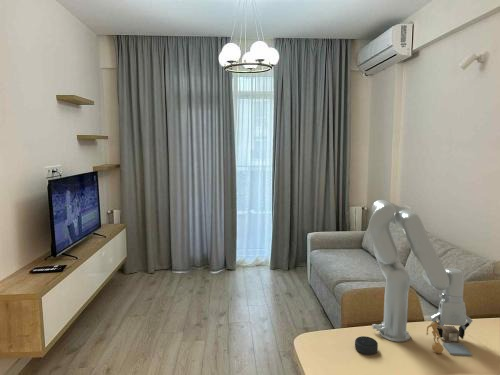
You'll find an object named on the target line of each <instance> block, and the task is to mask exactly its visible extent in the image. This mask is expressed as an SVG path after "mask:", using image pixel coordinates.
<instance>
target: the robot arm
mask: <svg viewBox="0 0 500 375" xmlns="http://www.w3.org/2000/svg"><path fill="white" fill-rule="evenodd" d="M371 212H372V215H371V216H370V218H369V221H368V227H367V228H368V232H369V235H370V238H371V241H372V244H373V246H372V247H373V248H372V250H373V253H374V257H375V258H376V261H377V264H378V266H379V268H380V271H381V273H382V275H383V277H384V278H385V288H384V299H383V300H384V304H383V321H381V323H379V324H376V323H372V324H371V327H372V328H371V329H373V330H376V331H377V332H379V335H381V337H383V339H386V340H389V341H392V342H397V343H401V342H402V343H403V342H407V341H409V340H410V338H411V334H410V333H409V332H408V331H407V324H408V302H409V301H408V300H409V290H410V285H411V278H410V277H411V276H410V273H409V271H408V270H407V269H406V267H405V266H404V265H403V264H402V262H401V260H400V251H399V249H398V247H397V245H396V242H395V240H394V237H393V235H392V232H391V229H390V225H391V224H393V225H395V226H397V227H400V228H401V230H402V232H403V234H404V236H405V238H406V241H407V244H408V246H409V248H410V250H411V252H412V254H413V256H414V257H416V259H417V261H419V264H421V266H422V268H423V270H422V276H423V279H424V280H425V282H427V283H428V285H430V287H432V288H433V289H434V290H436V291H442V293H441V294H440V293H439V298H441V299H440V302H439V304H438V310H437V313H435V314H433V315H432V316H430V320H431V321H432V322H437V324H438V325H440V326H442V327H443V326H457V327H458V326H459V327H458V331H459V338H461V339H462V340H463V339H464V338H465V335H466V334H465V332H466V330H467V328H468V327H469V326H470V325H471V324H472V322H473V319H472V318H470V316H467V309H466V303H465V301H464V300H463V298H464V283H465V282H464V280H465V274H464V271H463V270H462V269H459V268H454V267H449V268H448V267H447V268H446V267H445V266H444V264H443V262H442V260H441V258H440V257H439V254H438V253H437V252H436V249H435V247H434V246H433V244H432V241H431V240H430V238H429V236H428V233H427V230H426V228H425V226H424V224H423V222H422V220H421V218H420V216H419V215H418V214H417V213H415V212H414V211H412V210H410V209H407V208H405V207H402V206H400V205H398V204H395V203H392V202H390V201H387V200H385V199H378V200H376V201H374V202H373V204H372V206H371ZM437 320H438V321H437ZM437 331H438V332H439V335H440V338H442V339H443V337H442V334H443V330H442V328H441V327H439V326H438V328H437ZM440 338H439V339H440Z"/></svg>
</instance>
